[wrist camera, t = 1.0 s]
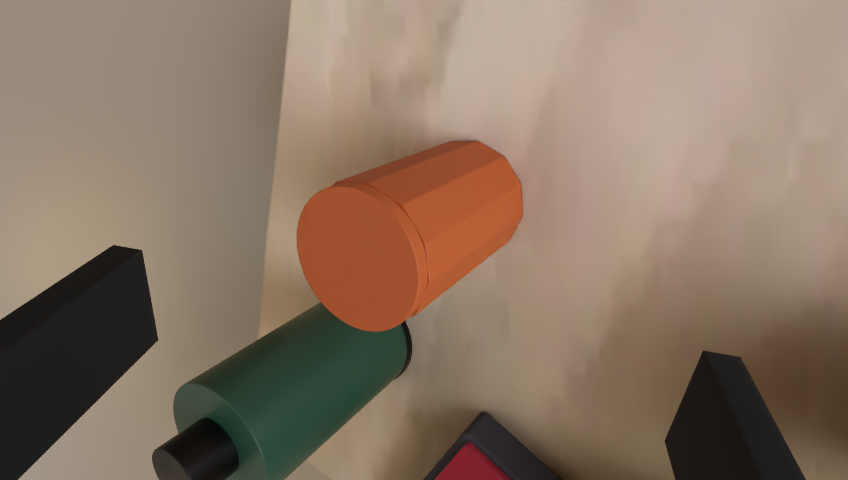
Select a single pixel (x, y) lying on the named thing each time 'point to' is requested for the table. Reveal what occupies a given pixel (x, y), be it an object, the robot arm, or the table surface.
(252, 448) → the flask
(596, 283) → the table surface
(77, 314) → the robot arm
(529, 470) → the red and grey box
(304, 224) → the cap
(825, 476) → the table surface
